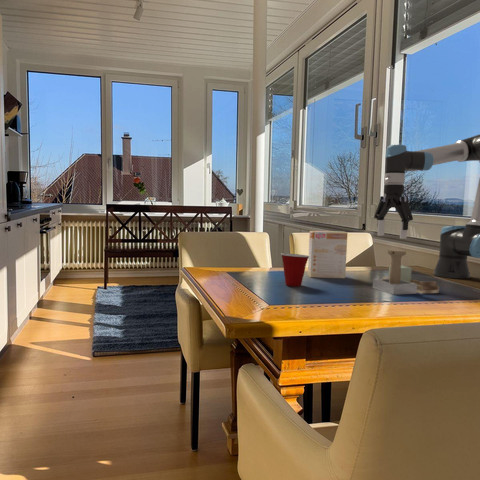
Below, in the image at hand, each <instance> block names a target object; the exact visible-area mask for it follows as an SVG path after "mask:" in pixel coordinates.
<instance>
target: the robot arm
mask: <svg viewBox="0 0 480 480" xmlns="http://www.w3.org/2000/svg"><path fill="white" fill-rule="evenodd" d="M472 161H473V162H474V161H476V162H479V163H480V134H476V135H473V136H471V137H468V138H464V139H461V140H460V139H459V140H456V141H455V142H454V143H451V144H447V145H446V144H445V145H442V146H436V147H430V148H425V149H421V150H412V151H411V150H407V146H406V145H404V144H390V145H388V146H387V147H386V151H385V164H384V165H385V166H384V167H385V168H384V169H385V173H384V183H385V185H384V186H383V187H384V189H383V190H384V191H383V193H384V194H385V196H384V195H383V196H379V203H378V204H377V208H376V211H375V213H374V219H376V220H377V224H376V225H377V234H376V235H377V237H379V236H380V237H381V236H383V237H384V236H385V220H386V219H385V217H386V215H387V214H388V212H389V211H390V209H392V208H394V209H396V211H397V213H398V215H399V217H400V219H401V220H400V225H399V226H400V228H399V229H400V230H399V232H400V233H399V239H401V240H402V239H405V240H407V238H408V237H407V236H408V230H409V222H411V221H413V219H414V218H413V215H412V210H411V208H410V205H409V197H408V196H406V195H404V194H405V185H404V184H405V178H406V177H405V175H406V172H415V171H420V172H423V171H424V172H425V171H429V170H431V169H432V167H433V166H436V165H437V166H438V165H441V164H447V163H452V162H458V163H464V162H472ZM474 197H475V198H474V202H473V207H472V212H471V217H470V220H469V221H468V222H466V223H465V225H447V226H443V227H441V230H440V234H439V235H440V239H439V256H438V259H437V263H436V265H435V267H434V269H433V276H435V277H436V276H437V277H441V278H448V279H459V280H460V279H470V278H471V271H470V270H469V264H468V257H472V258H476V259H480V178H479V179H478V184H477V189H476V193H475V196H474Z"/></svg>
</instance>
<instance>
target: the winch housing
mask: <svg viewBox="0 0 480 480" xmlns="http://www.w3.org/2000/svg"><path fill="white" fill-rule="evenodd" d="M372 289H374V290H378V291H381V292H383V293H386V294H390V295H395V296H396V295H414V294H418V293H417V284H415V283H411V282H407V281H403V280H400V284H392V283H389V279H383V278H373V279H372Z"/></svg>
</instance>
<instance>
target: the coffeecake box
mask: <svg viewBox="0 0 480 480" xmlns="http://www.w3.org/2000/svg"><path fill="white" fill-rule="evenodd" d="M347 247H348V232H346V231H338V230H337V231H336V230H335V231H333V230H332V231H331V230H309V239H308V256H310V257H309V258H308V260H307V276H309V277H310V278H317V279H319V278H322V279H323V278H325V279H327V278H328V279H346V270H347V269H346V268H347V266H346V265H347V253H348V252H347V251H348V249H347Z"/></svg>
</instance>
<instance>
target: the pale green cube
mask: <svg viewBox="0 0 480 480" xmlns="http://www.w3.org/2000/svg"><path fill="white" fill-rule="evenodd" d="M390 266H391V265H389V266H388V276H387V277H389V275H390ZM412 270H413V269H412V267H410V266H405V265H402V264H401V279H400V280H403V281H407V282H411V279H412Z"/></svg>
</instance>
